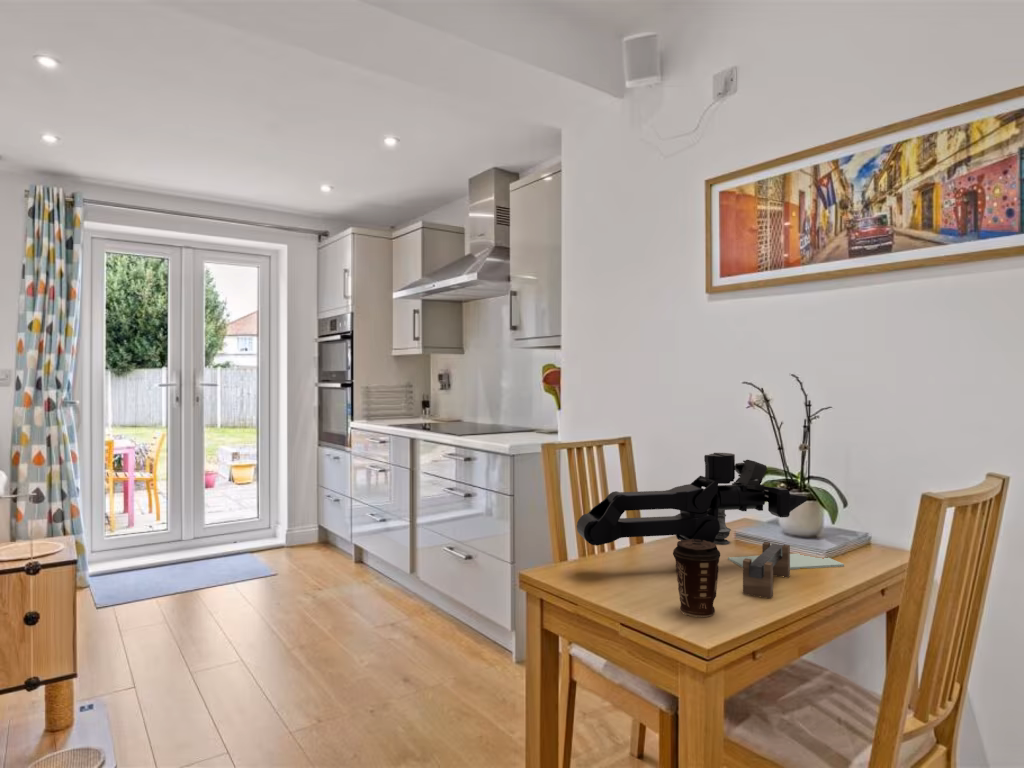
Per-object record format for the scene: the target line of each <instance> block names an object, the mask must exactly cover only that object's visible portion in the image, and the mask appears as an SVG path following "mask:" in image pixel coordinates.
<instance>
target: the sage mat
mask: <svg viewBox="0 0 1024 768" xmlns="http://www.w3.org/2000/svg"><path fill="white" fill-rule="evenodd" d="M758 556H759V555H750V556H749V555H747V556H746V555H745V556H732V557H731V556H730V557H727V560H728V561H730V562H731V563H733V564H736V565H737V566H739V567H741V568H742V569H743V560H744V559H745V558H747V559H752V562H753V561H754V560H755V559H756V558H757V557H758ZM836 567H837V568H838V567H839V568H841V567H845V563H842V562H840V561H837V560H835V559H833V558H831V557H828V558H824V559H822V558H815V557H810V556H804V555H800V554H799V553H790V570H801V569H800V568H807V569H821V568H822V569H823V568H836Z"/></svg>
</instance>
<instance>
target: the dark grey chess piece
mask: <svg viewBox="0 0 1024 768" xmlns="http://www.w3.org/2000/svg"><path fill="white" fill-rule="evenodd" d="M726 517H727V514H726V510H718V521H719V524H720V530H719V532H718V534H717V536H716V537H715V540H714V544H715V545H720V546H721V545H722V546H724V545H730V543H731V541H729V540H727V538H728V537H729V536H730V532H731V531H732V529H731V528H729V527H728V526H727V525H726Z"/></svg>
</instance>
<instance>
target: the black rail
mask: <svg viewBox="0 0 1024 768" xmlns="http://www.w3.org/2000/svg"><path fill="white" fill-rule="evenodd" d="M783 545H784V544H777V543H771V544H770V546H769V547H768V548H767V549H766V550H765V551H764V552H763V553H762V552H761V554H759V555H757V556H758V557H757V558H756V559H755V560H754V561H753V562H752V563H751V564H750V565H749V577H753V578H759V579H762V578H763V577H764V564H765V563H766V562H772V563H773V566H774V565H775V564H776V563H777V562H778V561H779V560H780V559H781V558H782V546H783Z"/></svg>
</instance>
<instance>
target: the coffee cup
mask: <svg viewBox="0 0 1024 768" xmlns="http://www.w3.org/2000/svg"><path fill="white" fill-rule="evenodd" d="M672 556H673V558H674V560H675V567H676V566H677V567H676V578H677V579H676V580H677V586H678V588H677V589H678V595H679V602H680V606H679V610H681V611H680V612H681V613H682V614H683V613H684V614H683V615H685V614H686V615H685V616H687V615H690V616H689V617H691V616H697V617H696V618H707V617H711V616H714V614H715V611H716V610H715V606H714V602H715V599H716V597H717V591H718V580H719V563H720V559H721V558H720V557H721V552H720V550H719V549H718V547H717V544H714V543H711V542H708V541H706V540H703V541H701V540H698V539H696V540H694V539H689V540H682V541H681V540H678V541H677V542H676V547H674V549H673V552H672Z"/></svg>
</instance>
